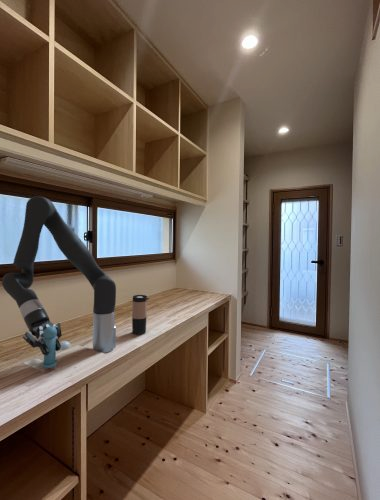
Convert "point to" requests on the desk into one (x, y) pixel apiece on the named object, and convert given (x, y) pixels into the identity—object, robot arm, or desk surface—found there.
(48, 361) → the pawn
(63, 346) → the die tray
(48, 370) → the track board
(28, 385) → the desk surface
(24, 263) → the robot arm
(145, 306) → the travel mug
